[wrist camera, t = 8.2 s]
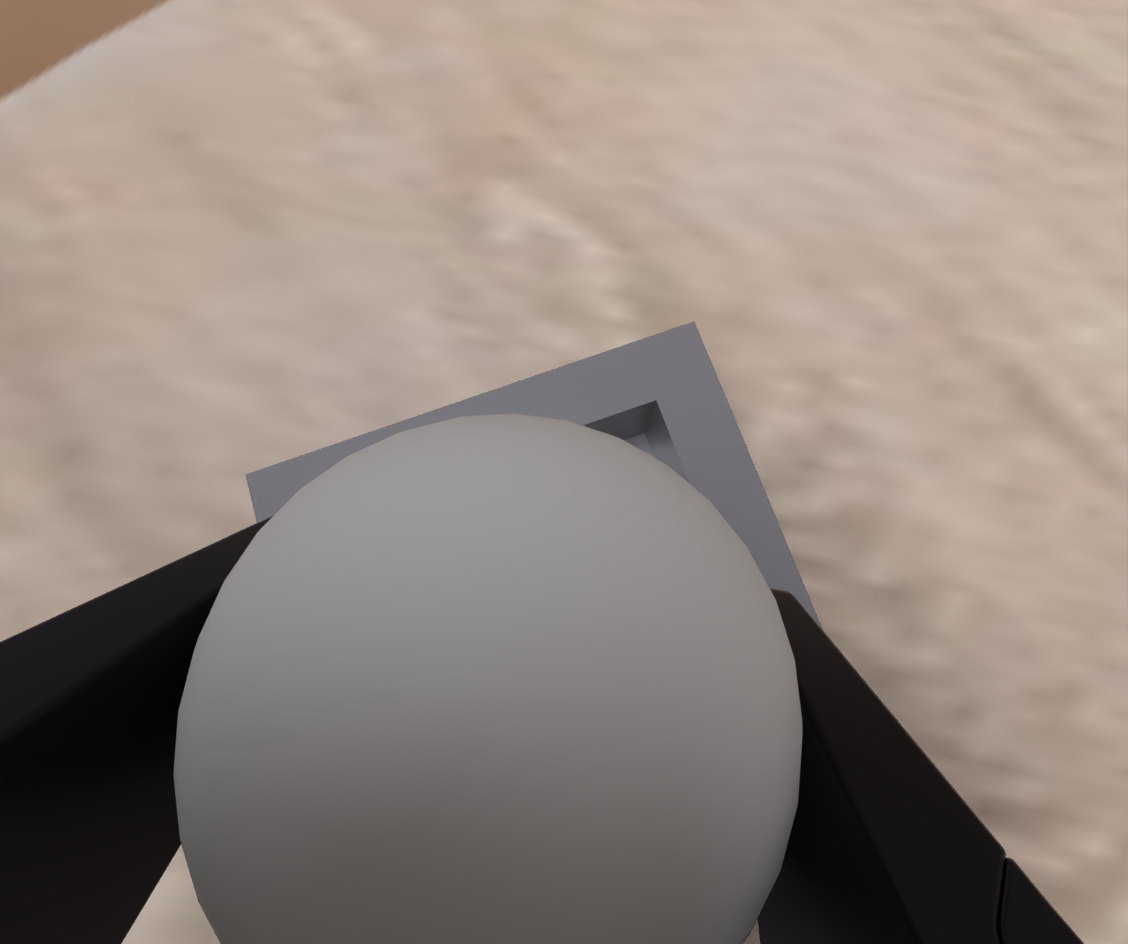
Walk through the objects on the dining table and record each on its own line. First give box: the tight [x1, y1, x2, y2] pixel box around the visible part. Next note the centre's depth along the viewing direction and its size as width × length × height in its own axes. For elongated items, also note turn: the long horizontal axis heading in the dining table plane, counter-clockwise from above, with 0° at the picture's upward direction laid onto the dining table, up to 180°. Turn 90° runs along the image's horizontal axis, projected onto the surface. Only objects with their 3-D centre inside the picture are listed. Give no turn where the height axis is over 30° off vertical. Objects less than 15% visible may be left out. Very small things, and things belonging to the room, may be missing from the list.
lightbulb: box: [173, 413, 803, 944], centre depth 9 cm, size 6×6×11 cm
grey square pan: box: [246, 322, 822, 629], centre depth 13 cm, size 21×12×4 cm, turn 19°
